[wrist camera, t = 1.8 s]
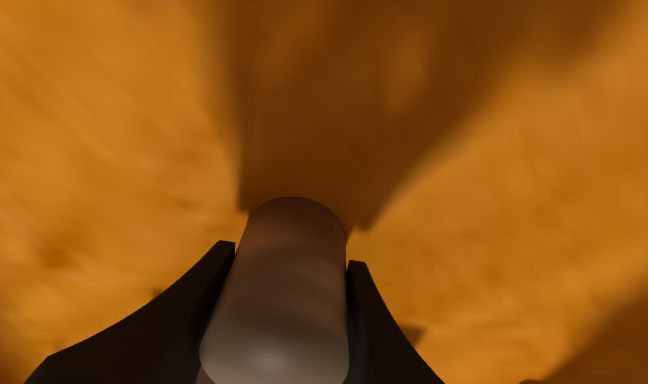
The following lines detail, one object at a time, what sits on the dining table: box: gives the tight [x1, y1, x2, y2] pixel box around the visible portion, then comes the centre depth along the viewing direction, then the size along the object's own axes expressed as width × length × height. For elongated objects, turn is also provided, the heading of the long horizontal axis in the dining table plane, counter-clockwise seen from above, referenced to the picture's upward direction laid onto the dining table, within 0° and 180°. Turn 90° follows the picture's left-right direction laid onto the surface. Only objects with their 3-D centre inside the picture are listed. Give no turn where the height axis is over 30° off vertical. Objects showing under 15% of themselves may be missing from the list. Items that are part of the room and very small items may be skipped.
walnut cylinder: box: [199, 197, 349, 384], centre depth 13 cm, size 4×4×6 cm
